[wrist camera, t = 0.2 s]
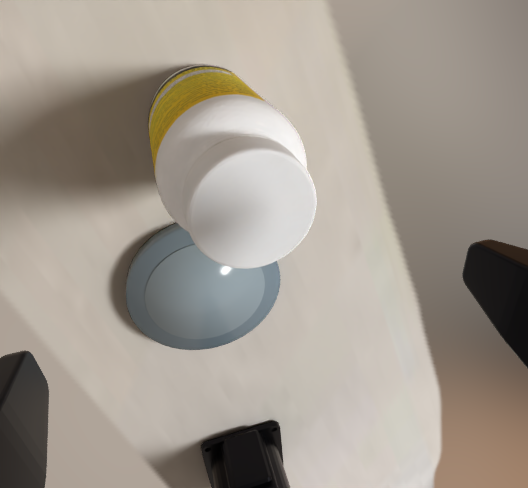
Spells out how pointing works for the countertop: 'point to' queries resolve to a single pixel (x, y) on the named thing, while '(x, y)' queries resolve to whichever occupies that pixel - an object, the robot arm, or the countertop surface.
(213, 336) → the dish
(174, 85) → the supplement bottle
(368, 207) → the countertop surface
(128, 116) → the countertop surface
